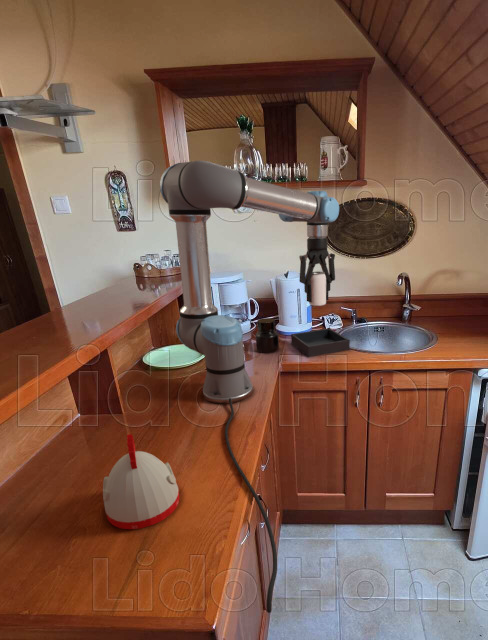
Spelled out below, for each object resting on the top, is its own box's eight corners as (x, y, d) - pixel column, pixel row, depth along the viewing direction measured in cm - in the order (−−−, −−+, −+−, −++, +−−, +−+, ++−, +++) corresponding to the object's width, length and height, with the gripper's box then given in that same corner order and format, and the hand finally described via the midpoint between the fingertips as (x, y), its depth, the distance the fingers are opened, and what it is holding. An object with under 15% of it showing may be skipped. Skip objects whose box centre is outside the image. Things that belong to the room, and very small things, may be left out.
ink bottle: (283, 347, 169) (282, 318, 164) (272, 354, 162) (271, 324, 157) (263, 344, 173) (261, 316, 168) (251, 351, 166) (249, 322, 161)
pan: (349, 349, 165) (349, 339, 163) (308, 356, 159) (308, 346, 157) (329, 337, 180) (329, 328, 178) (291, 343, 173) (291, 334, 172)
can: (312, 301, 166) (312, 271, 162) (328, 303, 164) (328, 271, 159) (306, 305, 161) (306, 273, 156) (322, 306, 159) (322, 274, 154)
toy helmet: (175, 476, 92) (164, 416, 86) (184, 516, 81) (172, 450, 74) (107, 493, 88) (90, 430, 81) (105, 538, 76) (86, 469, 70)
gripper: (336, 235, 159) (335, 296, 168) (288, 238, 152) (290, 301, 162) (345, 236, 153) (344, 299, 162) (296, 239, 146) (297, 305, 155)
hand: (317, 300), depth 162 cm, fingers closed on can, 6 cm apart
